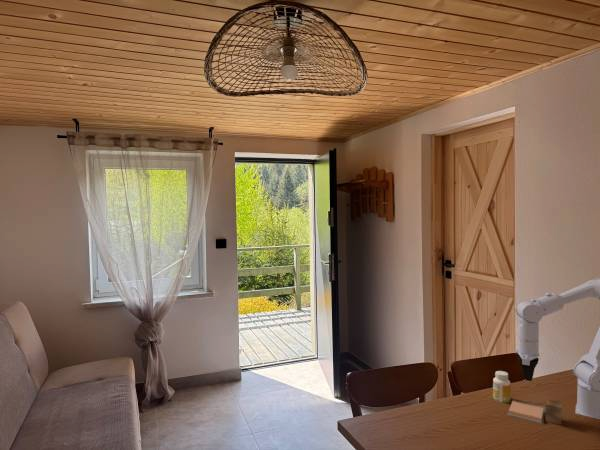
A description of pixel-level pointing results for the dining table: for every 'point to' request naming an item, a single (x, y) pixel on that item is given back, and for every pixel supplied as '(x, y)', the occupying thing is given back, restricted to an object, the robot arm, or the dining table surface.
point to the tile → (526, 411)
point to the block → (553, 412)
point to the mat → (533, 405)
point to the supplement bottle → (501, 387)
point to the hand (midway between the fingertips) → (528, 379)
